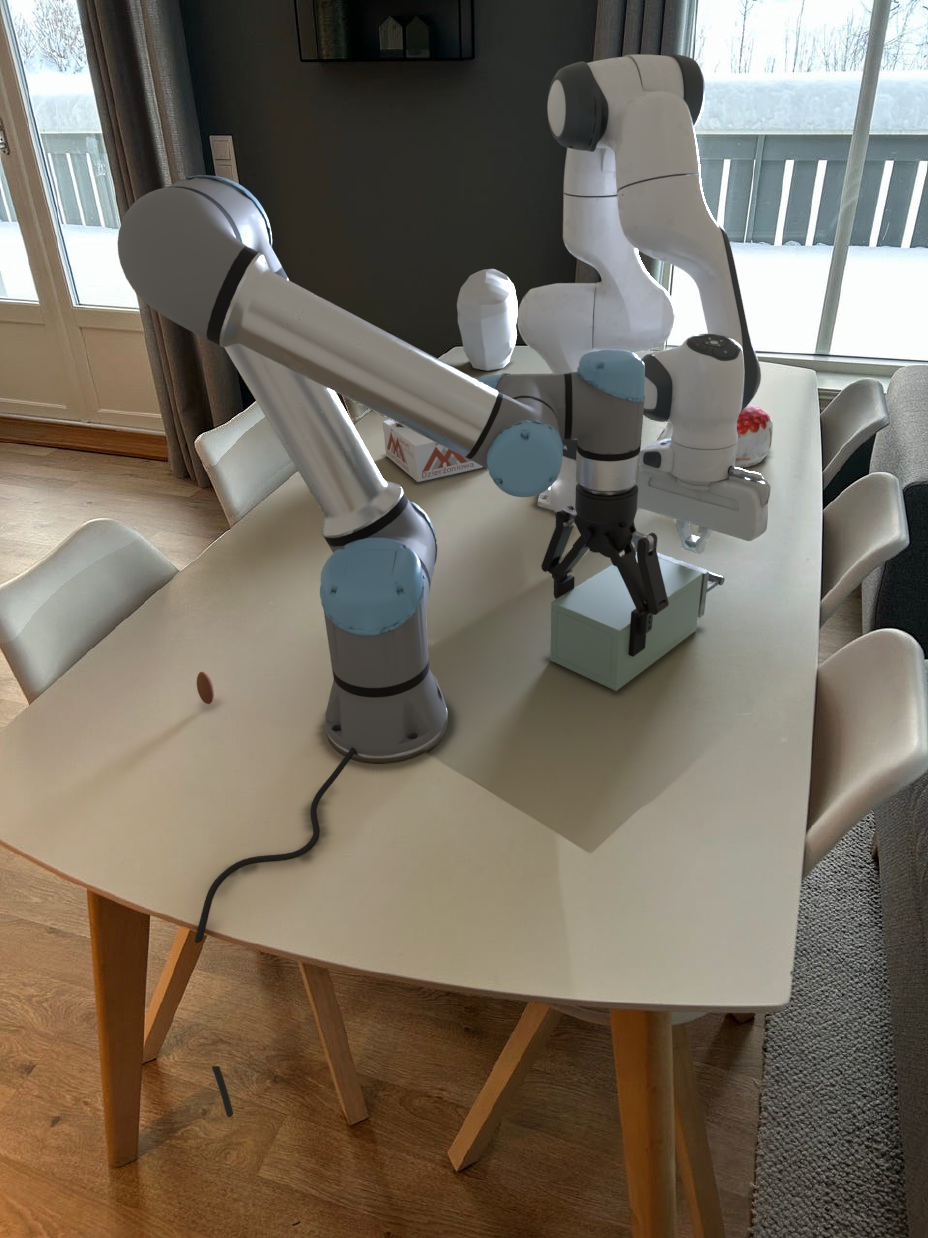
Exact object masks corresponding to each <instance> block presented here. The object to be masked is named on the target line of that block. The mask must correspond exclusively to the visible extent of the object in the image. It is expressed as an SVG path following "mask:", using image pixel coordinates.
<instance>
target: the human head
mask: <svg viewBox="0 0 928 1238" xmlns="http://www.w3.org/2000/svg"><path fill="white" fill-rule="evenodd" d="M456 310H457V325H458V329H459V332H460V336H461V342H462V348H463V352H464V354H465V356H466V358H467V359H468V360H469V362H470V364H471V366H472V368H473V369H477V370H482V371H487V372H489V371H495V370H500V369H504V368H505V367H506V365H508V364H509V363H510V362H511V356H512V354H513V351H514V348H515V346H516V343H517V342H516V341H517V336H518V334H517V315H518V299H517V294H516V288H515V285H514V283H513V282H512V281H511V279H510V278H509V276H508V275H507V274H505V273H503V272H501V271H500V270H497V269H495V268H488V269H487V268H486V269H482V270H479V271H477V272H475V273H473V274H471V275H469V276H468V277H467V279H466V280H465V282H464V283H463V284H462V286H461V287H460V290H459V293H458V295H457V301H456Z"/></svg>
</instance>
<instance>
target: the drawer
mask: <svg viewBox="0 0 928 1238" xmlns="http://www.w3.org/2000/svg"><path fill="white" fill-rule="evenodd" d="M657 556H658V558H660V559H663V560H666V561H669V562H671V563H674V564H677V565H680V566H683V567H686V568H689V569H691V570H694V571H697V572H700V573H702V584H701V592H700V601H699V610H698V619H700V618H702V617H703V616H704V615H705V608H706V601H707V593H709V592H710V591H712V590H713V589H714V588H715V587H717V586H723V584H724V583H725V579H726V577H725V576H722V575H718V574H716V573H713V572H710V570H709V569H708V570H707V569H705V568H702V567H699V566H696V565H694V564H690V563H687V562H685V561H682V560H679V559H676V558H673V557H671V556H667V555H665V554H662V553H659V552H657ZM709 582H710V583H709ZM708 583H709V584H708Z"/></svg>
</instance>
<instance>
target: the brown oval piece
mask: <svg viewBox="0 0 928 1238" xmlns="http://www.w3.org/2000/svg"><path fill="white" fill-rule="evenodd" d="M196 689H197V694H198V695H199V698H200V700H201V701H202V702H203V703H204V704H206V705H210V704H211V703H212V702H213V701H214V699H215V688H214V683H213V680H212V679H211V677H210V675H209V674H208V673H207V672H206V671H200V672H199V673H198V674H197V677H196Z"/></svg>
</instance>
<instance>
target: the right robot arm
mask: <svg viewBox="0 0 928 1238" xmlns="http://www.w3.org/2000/svg"><path fill="white" fill-rule="evenodd" d="M705 83H706V82H705V78H704V74H703V72H702V70H701V68H700V65H699V63H698V62H697V61H696V60H695V58H691V57H689V56H687V55H682V54H678V53H668V54H666V55H659V54H625V55H623V56H619V57H618V56H617V57H611V58H605V59H600V60H594V61H589V62H586V61H577V62H574V63H571V64H568V65H566V66H564V67H561V68H559V69H558V70H557V72H556V73H555V75H554V76H553V78H552V80H551V82H550V85H549V88H548V94H547V106H546V110H547V113H546V114H547V120H548V127H549V130H550V133H551V135H552V137H553V138H554V140H556V141H557V143H558V144H559V145H560V146H562V147H564V148H566V154H565V162H564V170H563V171H564V173H563V191H562V192H563V193H562V194H563V197H562V198H563V200H562V202H563V203H562V205H563V206H562V240H563V243H564V246H565V248H566V249H567V251H568V252H569V254H571V255H572V256H573V257H574V258H576V259H578V260H580V262H582V263H583V262H584V263H586V264H588V265H589V266H591V267H592V268H594V269H595V270H596V271H597V273H598V274H599V276H600V278H601V280H600V281H599V282H567V283H566V282H565V283H564V282H558V283H552V284H546V285H542V286H538V287H533V288H530V289H529V290H528V291H527V292H526V294H525V295H524V296H523V297H522V300H520V301H521V302H520V304H519V306H518V308H517V313H518V314H517V321H516V325H517V329H518V332H519V335H520V337H521V338H522V341H523V342H524V343H525V344H526V346H528V347H529V348H530V349H531V350H533V351H534V352H535V353H537V354H538V355H539V356H540V358H541V359H543V361H544V362H545V363H546V365H547V366H548V368H549V369H550V371H551V373H570V372H577V368H578V367H579V361H580V359H581V357H582V356H583V355H585V354H586V353H589V352H592V351H601V350H611V349H613V350H624V351H629V352H632V353H634V354H636V353H641V352H646V351H651V350H656V349H660V348H661V347H662V346H663V345H664V344H665V343H666V342H667V340H668V339H669V338H670V336H671V334H672V332H673V329H674V326H675V323H676V309H675V304H674V302H673V299H672V297H671V295H670V293H669V292H668V291H667V290H666V289H665V288H664V287H663V286H662V285H660V284H659V283H658V282H657V281H656V280H655V279H654V278H653V277H652V276H651V275H650V273H649V272H648V271H647V269H646V267H645V265H644V264H643V262H642V260H641V257H640V255H639V252H640V253H641V254H643V255H645V256H648V257H649V258H651V259H655V260H657V261H660V262H663V263H666V264H669V265H672V266H674V267H675V268H678V269H680V270H682V271H683V272H685V273H686V274H687V275H689V276H690V277H691V279H692V280H693V281H694V283H695V285H696V287H697V289H698V292H699V299H700V302H701V307H702V311H703V316H704V317H703V318H704V321H705V325H706V331H707V333H700V334H699V333H698V334H694V335H692V336H690V337H687V338H686V339H685V340H684V341H683V342H682V344H680V345H678V346H676V347H673V348H667V349H663V350H662V349H661V350H657V351H653V352H651V353H648V354H645V355H644V356H643V357H642V358H641V359H642V361H643V362H644V365H645V384H644V394H645V401H644V411H643V417H645V418H646V419H648V420H651V421H655V422H660V423H665V422H666V423H668V422H669V423H671V424H672V426H673V432H672V435H671V438H669V439H663V440H660V441H657V440H656V441H655V442H653V443H650V444H648V445H647V446H645V447H643V448H641V449H640V466H639V480H638V482H637V484H636V485H637V486H638V500H637V509H640V510H644V511H648V512H651V513H654V514H657V515H660V516H664V517H668V518H670V519H673V520H675V527H676V529H677V532H678V534H679V536H680V538H681V544H680V548H681V549H683V550H686V551H690V552H693V553H695V554H698V555H700V554H701V553H703V552H704V551H705V549H706V543H707V542H706V541H707V540H708V539H709V538H710V536H711V535H712V534H713V533H714V532H716V533H719V534H723V535H726V536H729V537H733V538H736V539H738V540H739V539H740V540H742V541H746V542H752V541H755V540H756V539H758V538H759V537H761V536H762V535H763V534H764V533H765V532H766V531H767V529H768V520H769V501H770V498H771V490H772V489H771V484H770V482H769V481H768V480H766V478H764V477H763V474H761V473H759V472H756V471H749V470H746V469H743V468H741V467H740V468H736V467H735V459H736V451H737V443H738V433H737V420H738V417H739V414H740V412H741V411H742V410H743V409H744V408H745V407H746V406H747V405H748V406H749V405H750V403H751V402H752V400H753V399H754V398H755V396H756V394H757V393H758V390H759V388H760V386H761V381H762V369H761V364H760V361H759V358H758V355H757V352H756V350H755V348H754V345H753V342H752V339H751V335H750V332H749V327H748V323H747V317H746V313H745V307H744V303H743V299H742V297H743V296H742V293H741V288H740V282H739V278H738V273H737V268H736V263H735V258H734V254H733V250H732V247H731V243H730V239H729V236H728V233H727V231H726V230H725V228H724V227H723V225H722V224H720V223H719V222H717V221H716V220H715V218H714V217H713V215H712V213H711V211H710V209H709V206H708V204H707V202H706V199H705V196H704V192H703V187H702V178H701V164H700V163H701V162H700V156H699V149H698V148H699V147H698V142H697V137H696V132H695V128H694V127H696V125H697V123H698V122H699V120H700V119H701V116H702V113H703V111H704V106H705V101H706V84H705ZM562 444H563V456H562V464H561V470H560V473H559V475H558V477H557V480H556V481H555V482H554V483H553V484H552V485H551V486H550V487H549V488H548V489H547V490H546V491H544V492H542V493H540V494H538V498H537V504H536V505H537V506H538V507H540V508H542V509H547V510H551V511H553V512H555V513H557V512H558V511H560V510H562V509H564V508H566V507H568V506H573V507H574V509H575V496H576V485H577V484H578V482H577V481H576V456H577V439H565V440H564V439H563V440H562ZM575 511H576V510H575ZM690 525H693V526H696V527H698V528H697V529H698V530H697V531H698V534H700V535H699V536H696V535H693V532H692V528H691V527H690Z"/></svg>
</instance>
